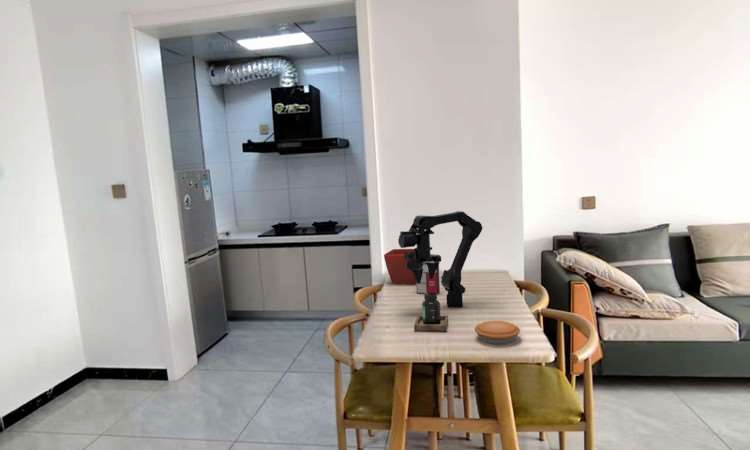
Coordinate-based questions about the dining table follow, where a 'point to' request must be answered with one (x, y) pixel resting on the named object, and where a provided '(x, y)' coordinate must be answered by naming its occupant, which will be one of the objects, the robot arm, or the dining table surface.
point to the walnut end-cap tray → (431, 325)
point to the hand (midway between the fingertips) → (425, 281)
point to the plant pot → (399, 267)
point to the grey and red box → (428, 282)
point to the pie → (497, 332)
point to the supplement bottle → (431, 309)
